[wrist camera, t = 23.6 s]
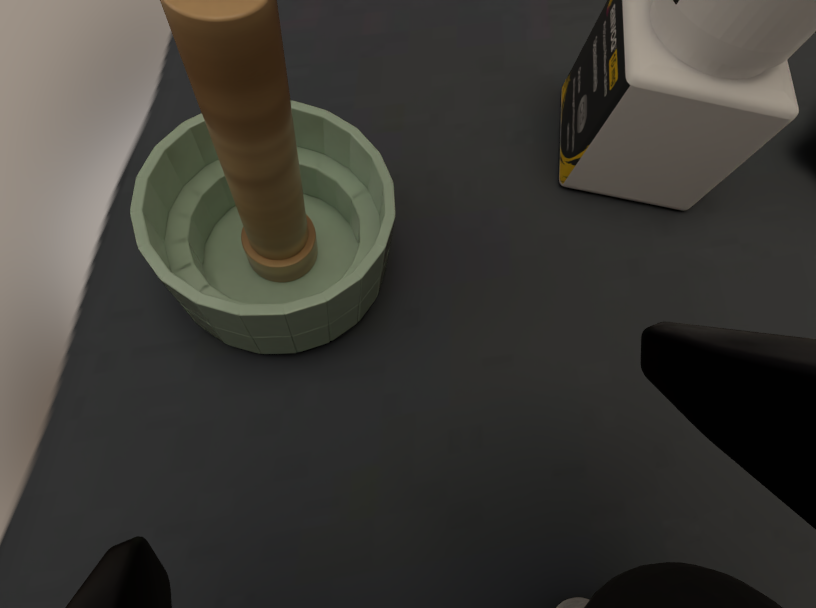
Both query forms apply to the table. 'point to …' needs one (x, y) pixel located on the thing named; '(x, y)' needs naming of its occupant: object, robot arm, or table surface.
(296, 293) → the bowl
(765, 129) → the medicine bottle
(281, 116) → the pestle
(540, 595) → the table surface
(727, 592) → the light bulb
